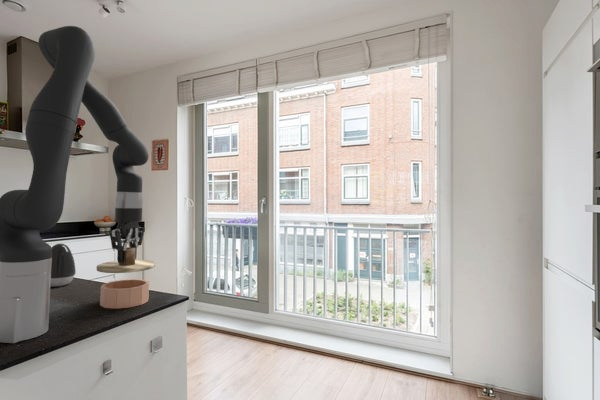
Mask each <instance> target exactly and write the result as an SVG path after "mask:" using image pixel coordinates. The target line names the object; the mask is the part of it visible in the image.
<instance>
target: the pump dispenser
mask: <svg viewBox="0 0 600 400" xmlns="http://www.w3.org/2000/svg"><path fill="white" fill-rule="evenodd" d="M51 247H52V264H51V283H50V288H51V287H52V288H53V287H54V288H55V287H56V288H57V287H63V286H66V285H69V284H70V283H71V282H72V281H73V280H74V277H75V275H76V262H75V259H74V256H73V254H72V250H71V249H70V247H69V246H68V245H66V244H65V243H56V244H53V246H51Z"/></svg>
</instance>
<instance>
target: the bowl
mask: <svg viewBox="0 0 600 400" xmlns="http://www.w3.org/2000/svg"><path fill="white" fill-rule="evenodd" d="M149 291H150V281H149V280H146V279H141V278H140V279H139V278H138V279H136V278H135V279H134V278H132V279H127V278H126V279H119V280H112V281H111V280H110V281H107V282H105V283H103V284H102V285H101V286H100V293H99V296H100V297H99V298H100V299H99V307H102V308H104V309H115V310H116V309H117V310H118V309H126V308H127V309H128V308H133V307H136V306H137V307H138V306H141V305H143V304H146V303H147V302H149V296H150V293H149Z"/></svg>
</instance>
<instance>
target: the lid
mask: <svg viewBox="0 0 600 400" xmlns="http://www.w3.org/2000/svg"><path fill="white" fill-rule="evenodd" d="M135 250H136V248H133V247H129V246H128V247H126V250H125V251H126V262H125V263H118V260H113V261H107V262H101V263H99V264H97V265H96V271H97V272H99V273H103V274H105V273H106V274H126V273H127V274H128V273H130V274H131V273H137V272H143V271H148V270H151V269H153V268H155V267H156V262H155V261H154V260H148V259H135Z"/></svg>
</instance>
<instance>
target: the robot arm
mask: <svg viewBox="0 0 600 400" xmlns="http://www.w3.org/2000/svg"><path fill="white" fill-rule="evenodd" d="M38 47H39V50H40V53H41V54H42V56H43V57H44V59H45V60H46V62H48V64H49V65H50V66H51V67H52V69H53V71H52V74H51V75H50V77H49V79H48V80H47V81H46V83H45V84H44V86H42V88H41V89H40V91H39V93H38V94H37V95H36V97H35V98H34V99H33V102H32V103H31V106H30V109H29V112H28V116H27V120H26V125H25V128H24V129H25V132H24V133H25V134H24V135H25V139H26V140H25V141H26V143H27V146H28V149H29V152H30V155H31V158H32V164H33V166H32V168H33V169H32V175H31V179H30V183H29V186H28V189H14V190H10V191H7V192H5V193H4V194H3V195H1V196H0V343H5V344H7V343H8V344H16V343H18V342H22V341H26V340H27V341H28V340H31V339H33V338H37V337H40V336H41V335H44V334H45V333H47V332H48V331H49V320H50V304H51V303H50V301H51V299H50V297H51V287H50V283H51V264H52V247H53V246H51V245H50V244H49V243H47V242H45V240H43V238H42V237H41V235H40V231H47V230H49V229H51V228H53V227H54V226H56V225H57V223H58V222H59V220H61V217H62V214H63V212H64V205H65V195H66V183H67V182H66V181H67V172H68V167H69V160H70V156H71V150H72V145H73V142H74V139H75V134H76V130H77V125H78V119H79V118H78V117H79V113H80V109H81V104H83V105H84V107H85V108H86V110H87V111H88V112H89V114H90V115H91V117H92V118H93V120H94V121H95V123H96V124H97V126H98V128H99V129H100V131H101V132H102V134H103V136H104V137H105V138H106V139H107V140H108V141H110V142H114V143H116V144H117V146H115V148H114V149H113V152H112V156H111V157H112V163H113V168H114V172H115V176H116V196H115V202H114V203H115V205H114V221H115V222H116V223H117V226H116V229H110V230H109V238H110V242H111V244H110V245H111V248H112V249H113V250H116V251H117V255H116V256H117V258H116V261H118V263H125V262H126V251H125V250H126V248H127V246H128V247H133V248H136V250H135V260H137V249H138V248H139V246H141V245H143V244H142V243H143V239H144V235H145V227H141V226H140V225H139V223H140V222H142V221H143V177H142V176H141V175H140V174H137V173H136V172H135V170H134V167H136V166H137V167H139V166H143V165H145V164H146V163H147V162H149V161H148V160H149V151H148V148H147V147H146V145H145V144H144V142H143V141H142V140H141V139H140V137H139V136H138V135H137V134H136V133H135V132H133V130H132V129H131V128H130V127H129V125H128V124H127V122H126V120H125V119H124V117H123V115H122V114H121V112H120V110H119V109H118V108H117V106H116V105H115V104H114V102H113V101H111V100H110V99H109V97H108V96H106V95H105V94H104V93H103V92H102V91H100V90H99V88H97V87H96V85H94V84H93V83H92V82H91V80H90V79H89V76H90V72H91V71H92V70H91V69H92V68H93V64H94V62H95V57H96V48H95V44H94V41H93V39H92V37H91V36H90V35H89V32H87V31H86V30H85V29H84V28H82V27H79V26H77V25H76V26H75V25H63V26H60V27H57V28H54V29H49V30H47V31H44V32H42V33H41V34H40V35H39V37H38Z"/></svg>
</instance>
